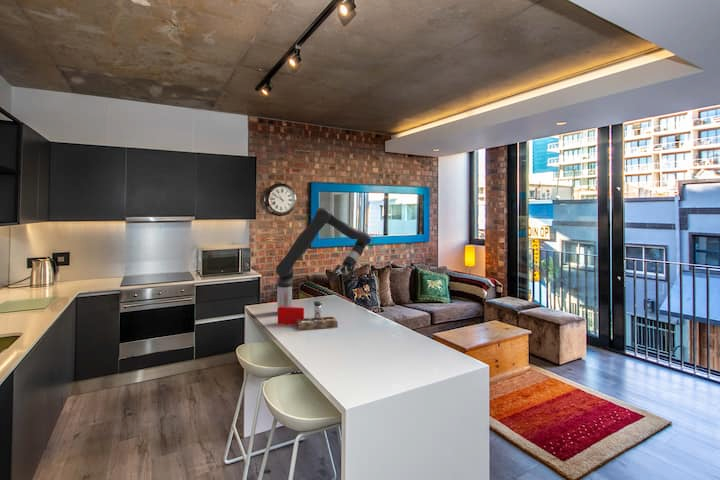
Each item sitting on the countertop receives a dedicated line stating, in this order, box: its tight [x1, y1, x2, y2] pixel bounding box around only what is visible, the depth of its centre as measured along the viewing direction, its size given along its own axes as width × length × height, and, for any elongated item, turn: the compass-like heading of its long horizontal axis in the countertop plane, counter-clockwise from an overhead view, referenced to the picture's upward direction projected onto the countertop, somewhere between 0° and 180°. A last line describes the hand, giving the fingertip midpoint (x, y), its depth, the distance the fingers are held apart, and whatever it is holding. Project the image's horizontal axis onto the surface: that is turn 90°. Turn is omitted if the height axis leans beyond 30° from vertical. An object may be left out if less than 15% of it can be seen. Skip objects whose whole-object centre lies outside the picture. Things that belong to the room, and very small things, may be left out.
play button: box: [277, 306, 305, 326], centre depth 218 cm, size 15×3×10 cm, turn 83°
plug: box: [313, 300, 322, 318], centre depth 228 cm, size 5×5×11 cm
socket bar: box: [296, 315, 339, 331], centre depth 215 cm, size 22×10×4 cm, turn 109°
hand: (338, 279), depth 227 cm, fingers open, 8 cm apart
